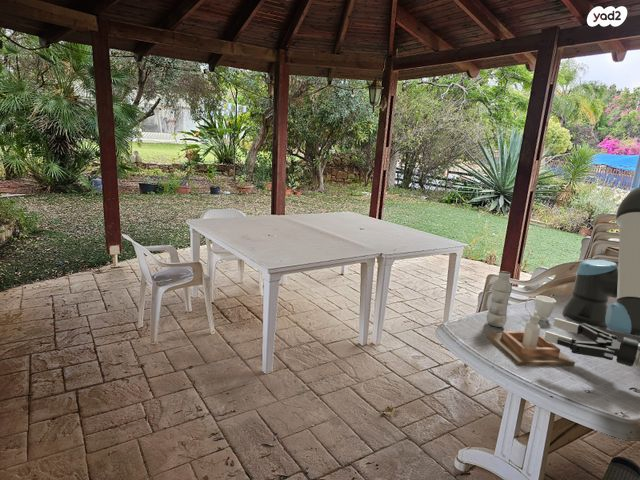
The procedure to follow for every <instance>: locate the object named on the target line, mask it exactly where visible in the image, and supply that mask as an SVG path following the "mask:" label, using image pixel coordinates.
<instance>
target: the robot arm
mask: <svg viewBox="0 0 640 480" xmlns="http://www.w3.org/2000/svg"><path fill="white" fill-rule="evenodd" d="M615 216H616V217H615V222H616V225H617V226H618V227H619V236H618V237H619V239H618V240H619V242H618V263H616V262H614V261H610V260H603V259H587V260H583V261H581V262H580V263H579V265H578V267H577V271H576V276H575V280H574V284H573V289H572V293H571V296H570V298H569V299H568V301H567V303H566V304H565V305H564V306H563V310H562V315H563V316H565V317H566V318H567V319H569V320H571V321H569V320H564V319H561V318H558V317H554V319H553V320H554V321H553V325H552V326H553V327H554V328H558V329H561V330H564V331H568V332H571V333H574V334H576V335H582V336H584V337H586V338H587V339H589V340H591V341H585V340H576V339H575V338H570V337H568V336H564V335H561V334H557V333H556V332H555V333H554V332H552V331H548V330H545V335H544V338H545V339H544V340H545V341H548V342H551V343H552V344H554V345H558V346H561V347H564V348H568V349H569V350H571V353H572V354H575V355H583V356H586V357H587V356H589V357H595V358H599V359H601V358H602V359H604V360H605V359H606V360H609V361H613V359H614V357H616V360H615V361H616V363H618V364H620V365H624V366H627V367H630V368H631V367H633V366H634V368H636V369H637V370H640V342H639V341H638V340H637V339H634V338H631V337H627V336H622V338H621V339H620V341H619V340H618V336H617V335H615V334H611V333H609V332H606V331H604V330H602V329H600V328H597V327H605V326H606V327H607V328H608V329H609V330H611V331H613V332H615V331H616V332H618V333H622V334H626V335H632V336H637V337H640V186H638V187H636V188H635V189H633V190H632V191H630V192H629V193H628V194H627V195H626V196H625V197H624V198H623V199H622V200H621V202H620V204H619V206H618V208H617V212H616V215H615ZM609 298H613V299H615V298H616V302H610V303H609V304H608V302H609ZM572 321H573V322H572ZM575 322H576V323H575ZM578 323H580V324H578Z"/></svg>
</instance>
